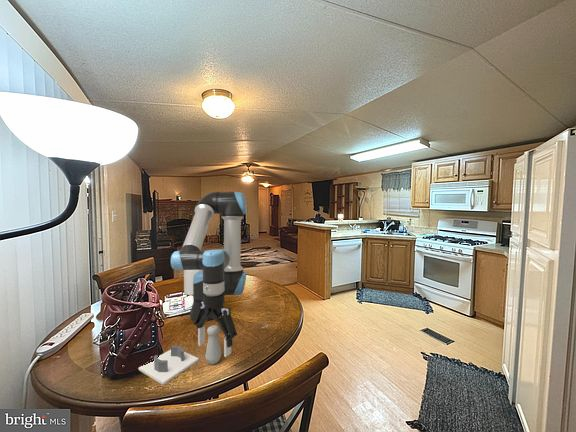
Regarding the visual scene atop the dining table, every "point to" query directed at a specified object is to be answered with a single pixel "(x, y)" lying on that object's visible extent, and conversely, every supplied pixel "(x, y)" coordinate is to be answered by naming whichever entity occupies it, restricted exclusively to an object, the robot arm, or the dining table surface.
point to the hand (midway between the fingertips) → (214, 349)
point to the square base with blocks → (168, 365)
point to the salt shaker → (213, 345)
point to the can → (189, 281)
